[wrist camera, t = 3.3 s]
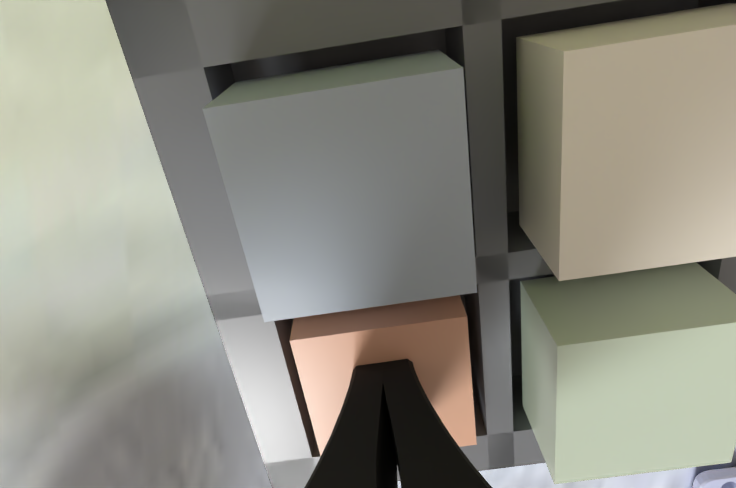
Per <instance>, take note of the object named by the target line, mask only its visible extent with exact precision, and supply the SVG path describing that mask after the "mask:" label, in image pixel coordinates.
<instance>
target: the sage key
mask: <svg viewBox="0 0 736 488" xmlns="http://www.w3.org/2000/svg"><path fill="white" fill-rule="evenodd" d="M520 288H521V346H522V403H523V408H524V410H525V413H526V415H527V418H528V420H529V422H530V425H531V427H532V430H533V432H534V435H535V437H536V440H537V442H538V445H539V447H540V450H541V452H542V455H543V457H544V459H545V462H546V464H547V467H548V469H549V472H550V474H551V477H552V479H553V482H554V484H560V483H568V482H576V481H584V480H592V479H601V478H609V477H617V476H625V475H633V474H641V473H649V472H658V471H666V470H674V469H682V468H690V467H698V466H706V465H715V464H723V463H731V461H732V457H733V453H734V449H735V445H736V294H735V293H734V292H733V291H731V290H730V289H729V288H728V287H726V286H725V285H724V284H723V283H721V282H720V281H719V280H718V279H716V278H715V277H714V276H713V275H711V274H710V273H709V272H708V271H706V270H705V269H704V268H703V267H701V266H700V265H699V264H698V263H696V262H693V263H686V264H679V265H671V266H664V267H657V268H650V269H643V270H636V271H628V272H621V273H614V274H607V275H600V276H593V277H585V278H578V279H571V280H564V281H558V279H557V278H556V276H553V277H546V278H539V279H532V280H525V281H520Z"/></svg>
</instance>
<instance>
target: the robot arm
mask: <svg viewBox="0 0 736 488" xmlns="http://www.w3.org/2000/svg"><path fill="white" fill-rule="evenodd" d="M397 466H398V471H399V476H400V481H401V488H492V487H491V486H490V485H489V484H488V482H487V481H486V480H485V479H484V478H483V476H482V475H481V474H480V473H479V472H478V470H477V469H476V468H475V467H474V466H473V464H472V463H471V462H470V461H469V459H468V458H467V457H466V455H465V454H464V453H463V451H462V450H461V449H460V447H459V446H458V444H457V443H456V442H455V440H454V439H453V437H452V436H451V435H450V433H449V432H448V430H447V429H446V427H445V426H444V424H443V422H442V421H441V419H440V417H439V416H438V414H437V413H436V411H435V409H434V408H433V406H432V404H431V403H430V401H429V399H428V397H427V395H426V393H425V391H424V389H423V387H422V385H421V383H420V381H419V379H418V377H417V374H416V371H415V369H414V365H413V362H412V361H410V360H409V359H402V360H395V361H388V362H381V363H373V364H366V365H358V366H356V367H355V368H354V369H353V372H352V376H351V380H350V384H349V388H348V391H347V394H346V397H345V400H344V403H343V406H342V408H341V411H340V413H339V416H338V418H337V421H336V423H335V426H334V428H333V431H332V433H331V436H330V438H329V440H328V442H327V444H326V446H325V448H324V451H323V453H322V455H321V457H320V459H319V461H318V463H317V465H316V467H315V469H314V471H313V473H312V475H311V477H310V479H309V480H308V482H307V484H306V486H305V488H398V485H397ZM692 488H736V467H730V468H722V469H714V470H707V471H704V472H702V473H700V474H698V475H697V476H696V478H695V480H694V482H693V487H692Z"/></svg>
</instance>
